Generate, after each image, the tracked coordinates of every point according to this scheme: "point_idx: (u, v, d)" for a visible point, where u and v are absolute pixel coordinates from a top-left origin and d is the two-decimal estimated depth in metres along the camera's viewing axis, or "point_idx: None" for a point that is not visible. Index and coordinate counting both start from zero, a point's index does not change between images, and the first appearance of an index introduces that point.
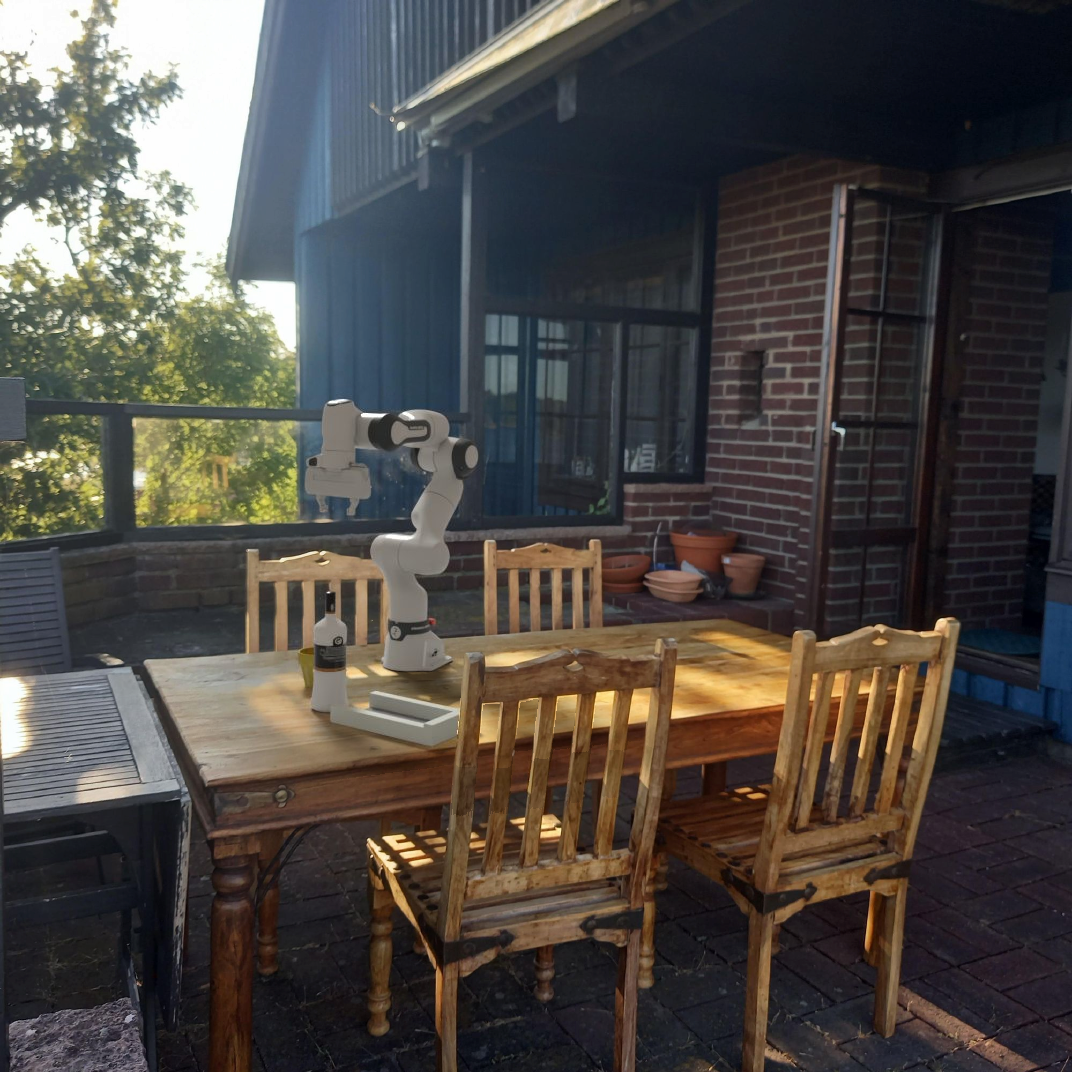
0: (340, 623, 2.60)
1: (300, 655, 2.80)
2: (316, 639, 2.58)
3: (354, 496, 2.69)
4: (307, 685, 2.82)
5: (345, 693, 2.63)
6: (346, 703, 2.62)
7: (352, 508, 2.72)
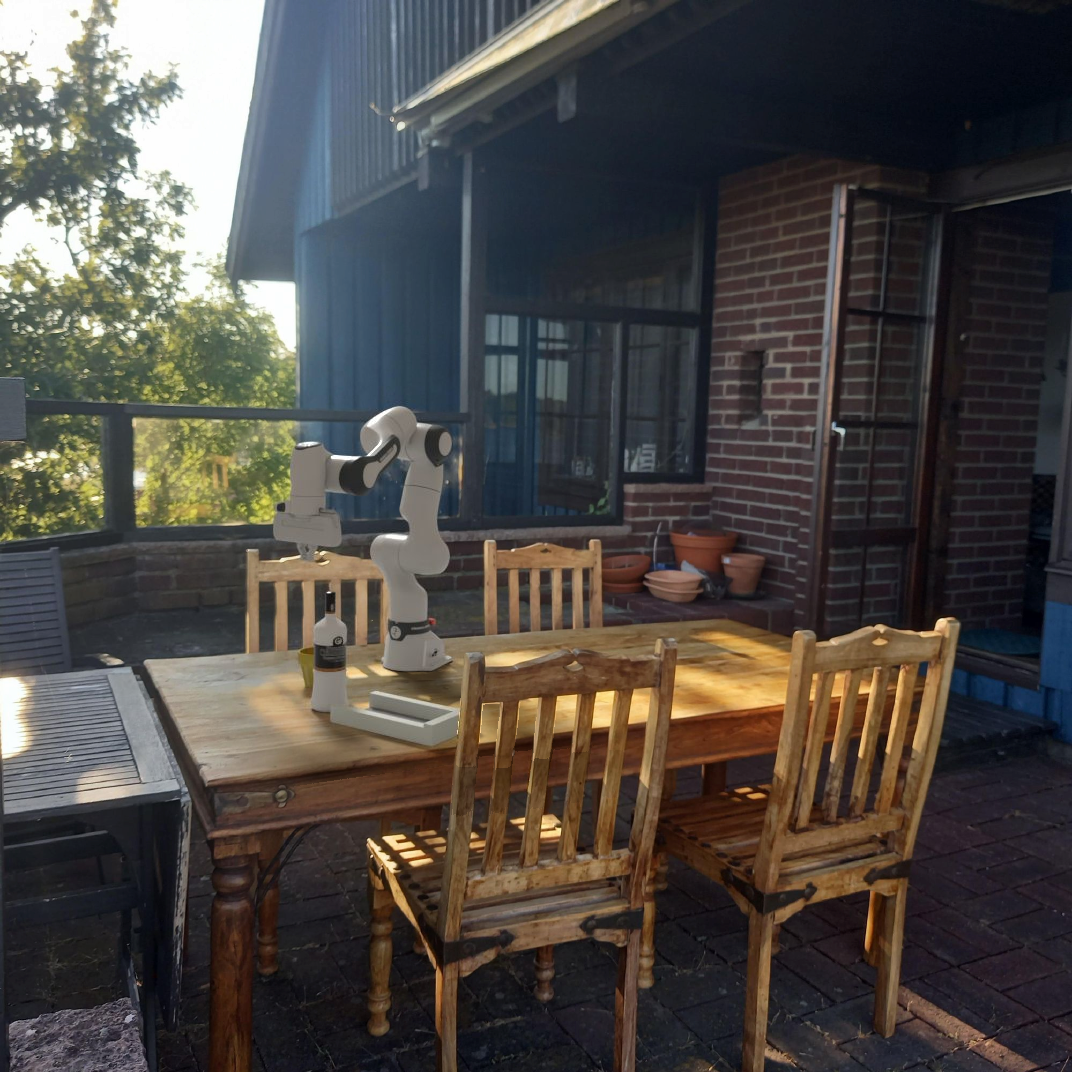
0: (340, 623, 2.60)
1: (300, 655, 2.80)
2: (316, 639, 2.58)
3: (324, 544, 2.57)
4: (307, 685, 2.82)
5: (345, 693, 2.63)
6: (346, 703, 2.62)
7: (310, 554, 2.62)
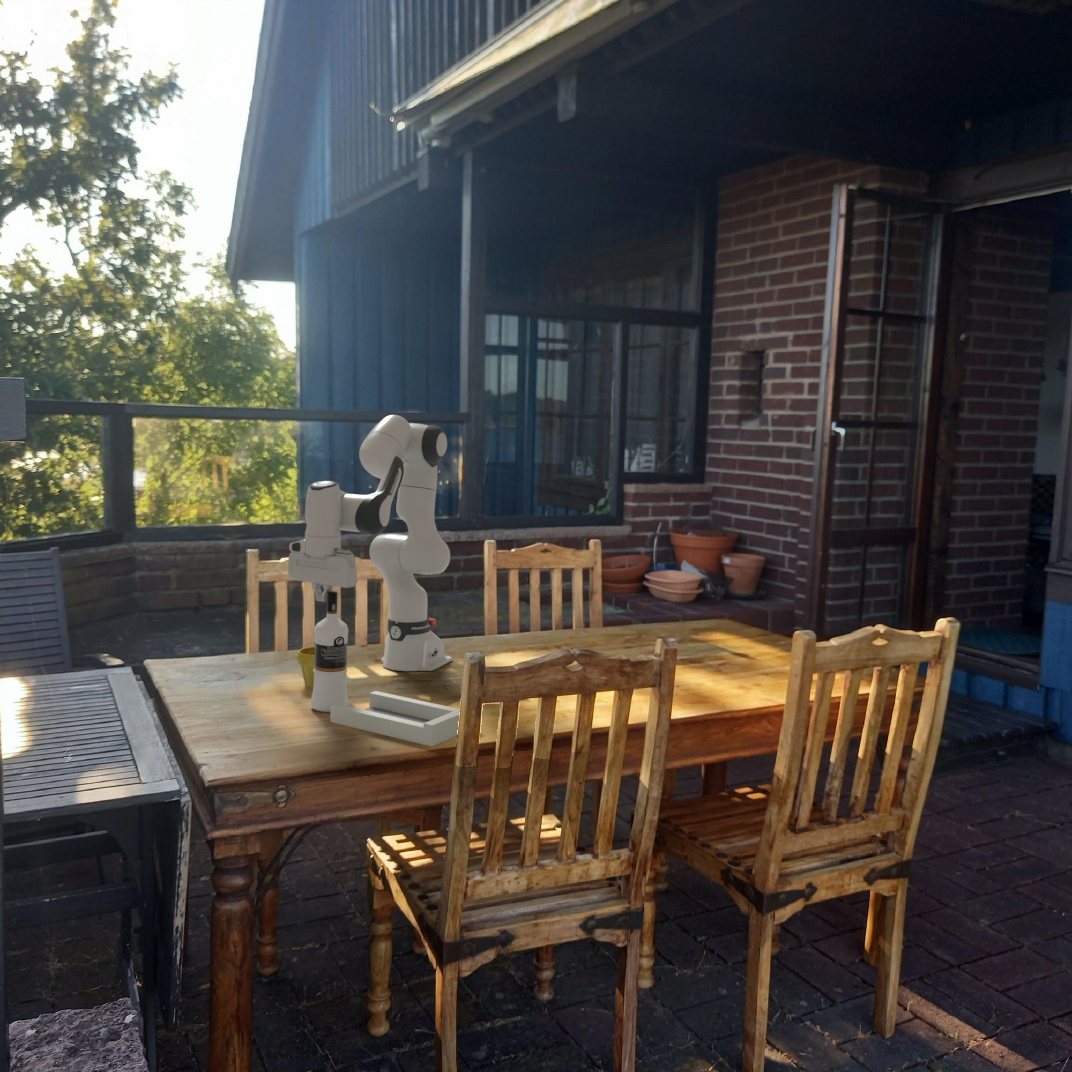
0: (341, 623, 2.60)
1: (300, 655, 2.80)
2: (318, 638, 2.58)
3: (339, 584, 2.56)
4: (307, 685, 2.82)
5: (345, 693, 2.62)
6: (346, 703, 2.62)
7: (325, 594, 2.60)
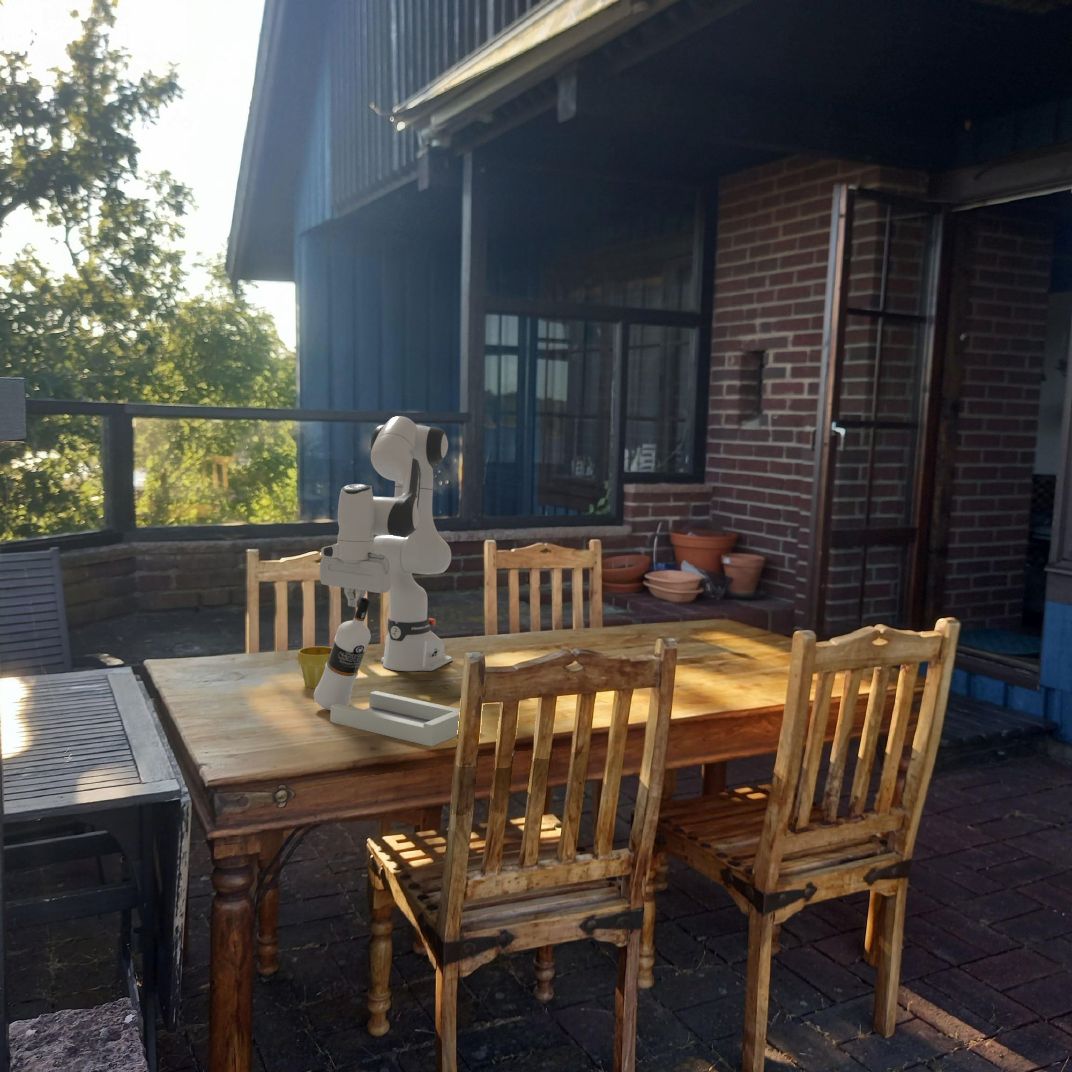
0: (366, 632, 2.56)
1: (300, 655, 2.80)
2: (339, 641, 2.54)
3: (373, 590, 2.50)
4: (307, 685, 2.82)
5: (350, 694, 2.62)
6: (348, 704, 2.62)
7: (358, 600, 2.55)
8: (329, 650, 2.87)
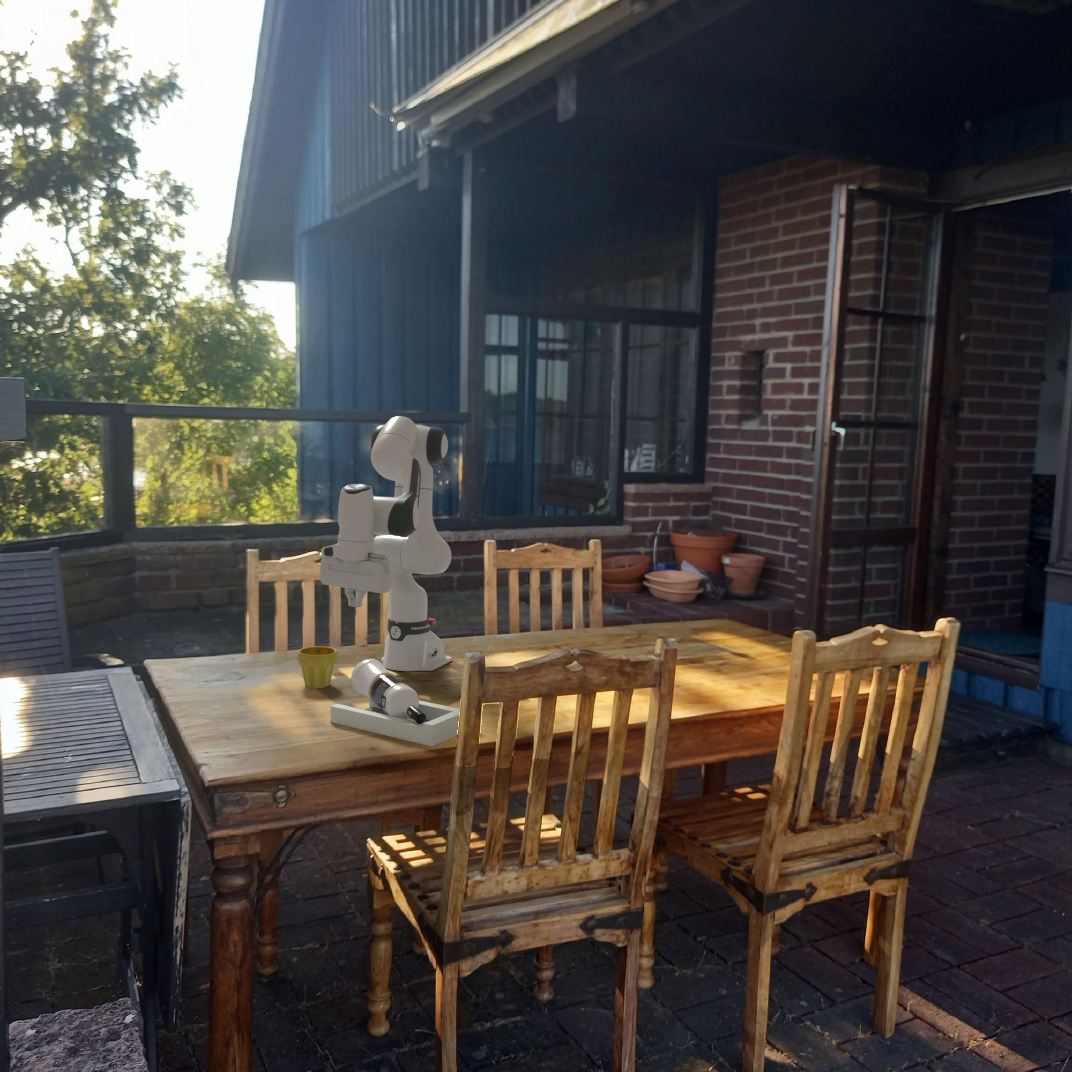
0: (396, 713, 2.45)
1: (300, 655, 2.80)
2: (399, 685, 2.48)
3: (373, 590, 2.50)
4: (307, 685, 2.82)
5: (361, 692, 2.59)
6: (355, 688, 2.61)
7: (359, 600, 2.55)
8: (329, 650, 2.87)
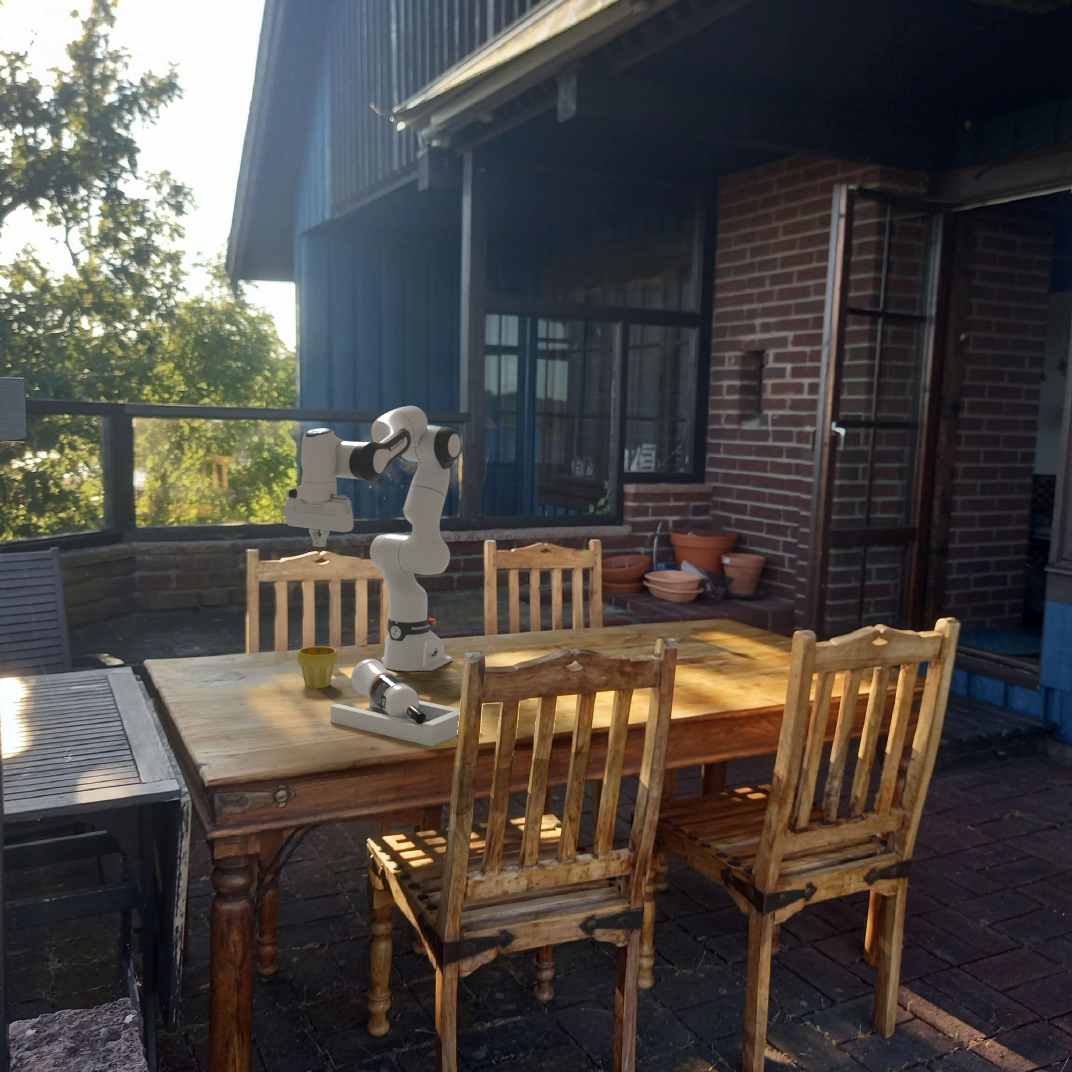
0: (396, 713, 2.45)
1: (300, 655, 2.80)
2: (399, 685, 2.48)
3: (336, 529, 2.62)
4: (307, 685, 2.82)
5: (361, 692, 2.59)
6: (355, 688, 2.61)
7: (322, 539, 2.66)
8: (329, 650, 2.87)
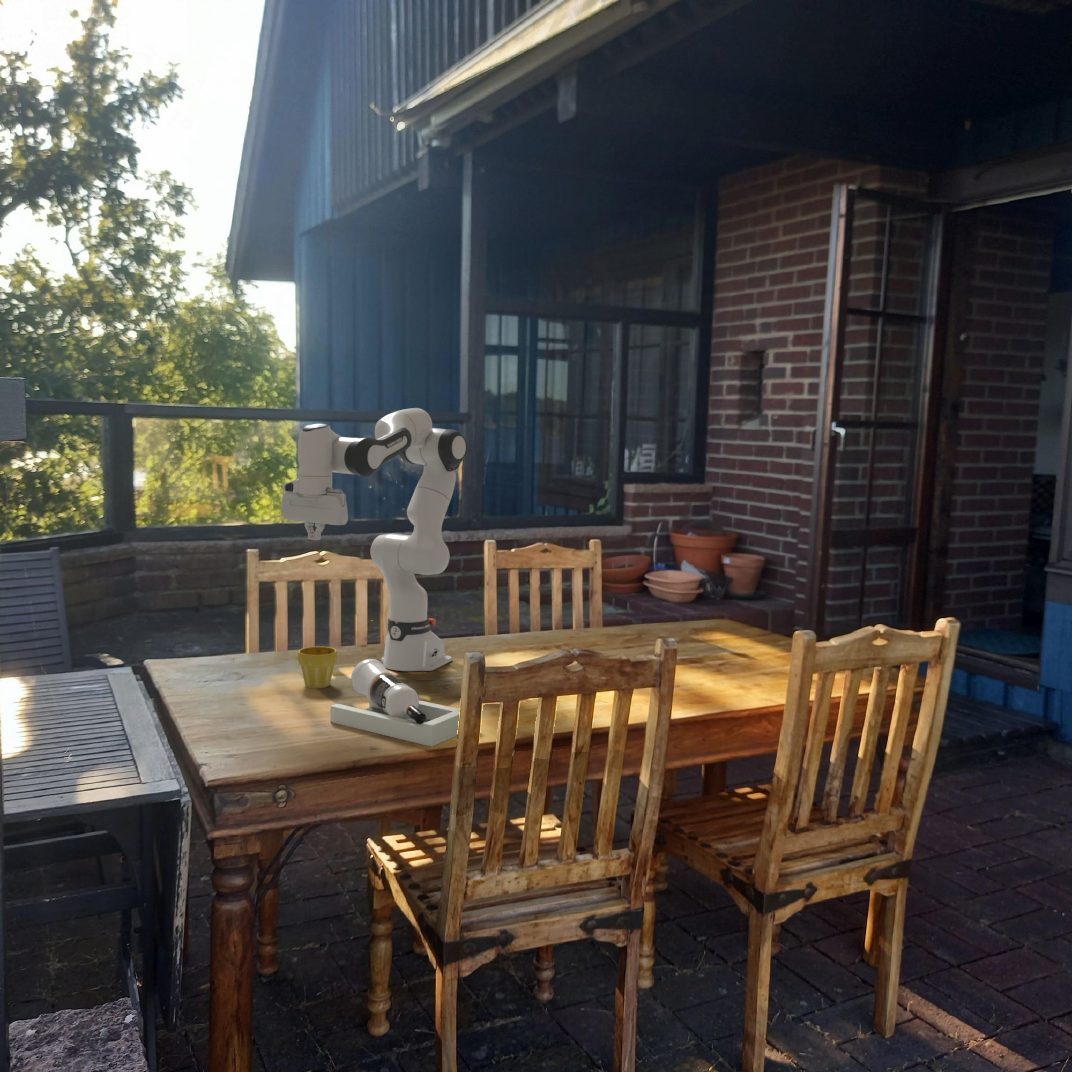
0: (396, 713, 2.45)
1: (300, 655, 2.80)
2: (399, 685, 2.48)
3: (331, 522, 2.66)
4: (307, 685, 2.82)
5: (361, 692, 2.59)
6: (355, 688, 2.61)
7: (317, 533, 2.70)
8: (329, 650, 2.87)
